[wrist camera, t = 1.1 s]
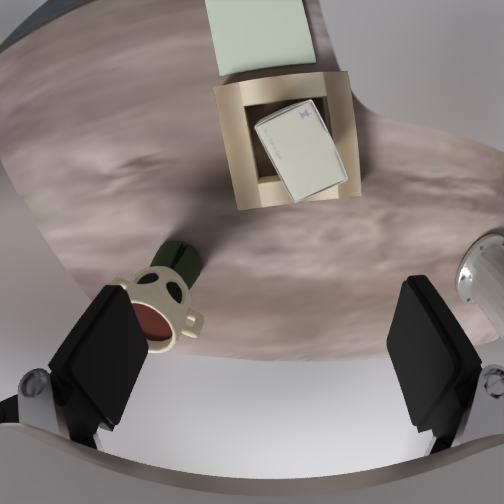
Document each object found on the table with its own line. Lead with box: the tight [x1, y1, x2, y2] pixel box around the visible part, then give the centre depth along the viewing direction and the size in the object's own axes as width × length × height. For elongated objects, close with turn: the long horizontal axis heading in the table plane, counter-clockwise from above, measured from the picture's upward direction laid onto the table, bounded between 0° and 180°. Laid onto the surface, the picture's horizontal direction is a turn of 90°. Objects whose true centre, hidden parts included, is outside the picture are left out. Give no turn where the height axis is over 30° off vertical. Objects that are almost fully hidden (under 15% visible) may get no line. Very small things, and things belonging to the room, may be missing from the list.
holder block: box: [213, 71, 361, 211], centre depth 27 cm, size 13×13×3 cm
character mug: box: [110, 242, 204, 353], centre depth 30 cm, size 11×7×13 cm, turn 65°
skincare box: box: [255, 99, 348, 203], centre depth 23 cm, size 6×4×12 cm
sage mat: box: [205, 0, 316, 76], centre depth 22 cm, size 10×10×1 cm
